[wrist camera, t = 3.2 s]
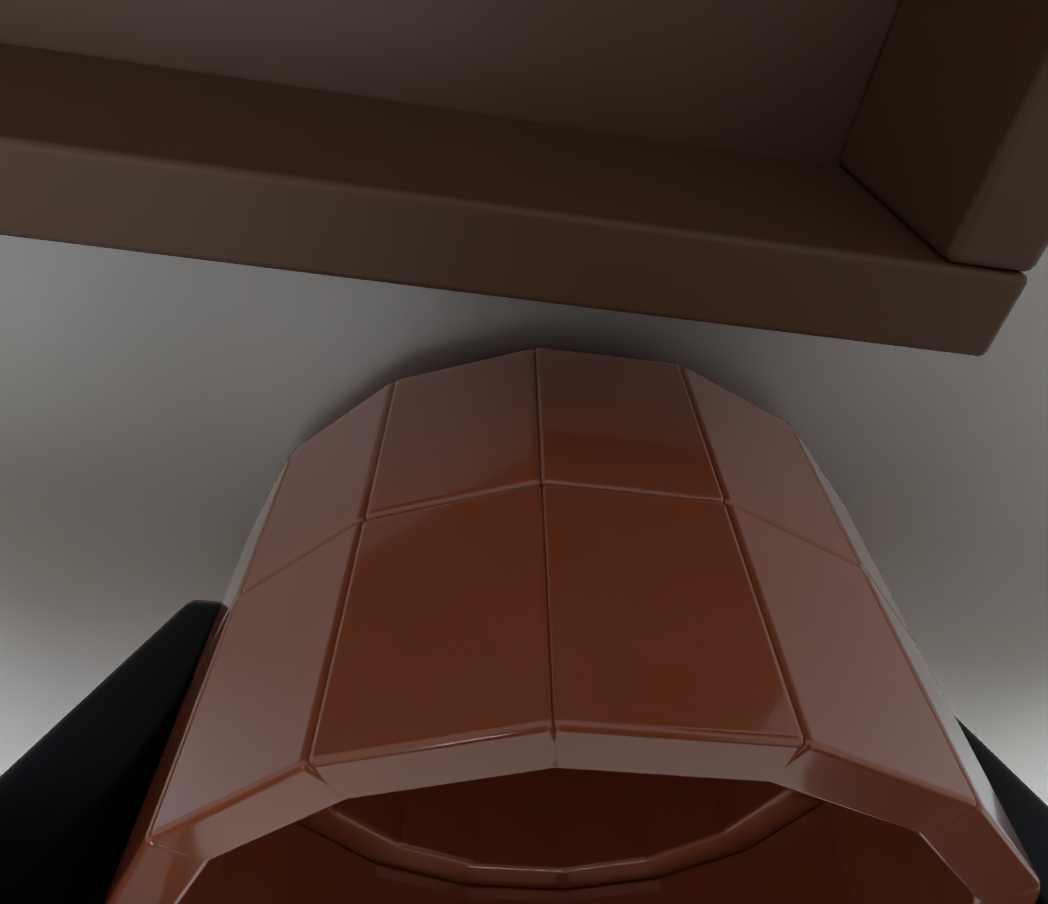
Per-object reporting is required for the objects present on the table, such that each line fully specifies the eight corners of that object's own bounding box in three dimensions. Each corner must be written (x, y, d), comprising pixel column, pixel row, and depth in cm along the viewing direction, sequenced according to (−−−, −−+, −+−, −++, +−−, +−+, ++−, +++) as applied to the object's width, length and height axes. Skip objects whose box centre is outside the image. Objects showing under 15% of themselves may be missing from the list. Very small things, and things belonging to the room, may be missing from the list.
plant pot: (728, 744, 12) (818, 1104, 9) (279, 712, 12) (175, 1089, 8) (935, 368, 8) (1280, 777, 4) (239, 283, 7) (-25, 686, 4)
